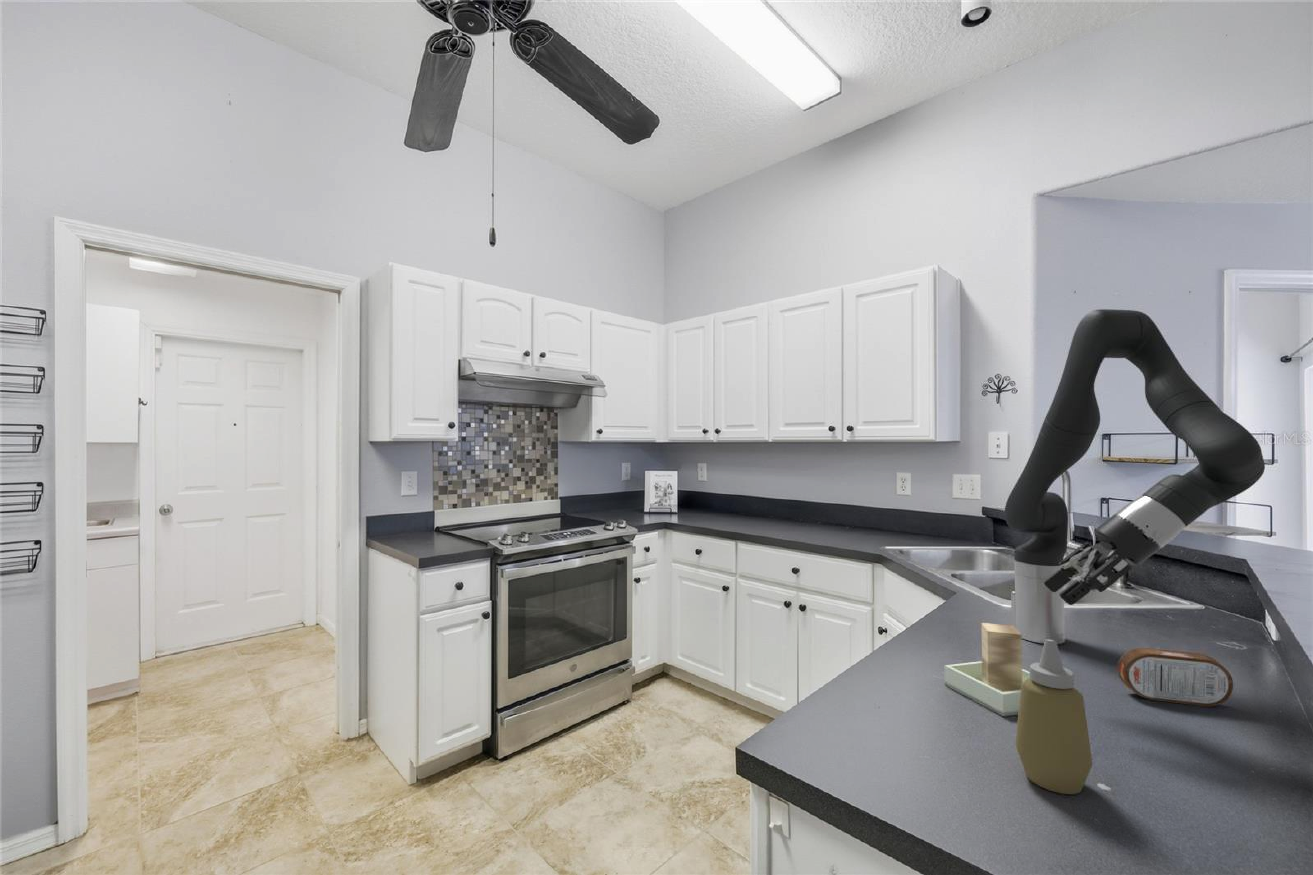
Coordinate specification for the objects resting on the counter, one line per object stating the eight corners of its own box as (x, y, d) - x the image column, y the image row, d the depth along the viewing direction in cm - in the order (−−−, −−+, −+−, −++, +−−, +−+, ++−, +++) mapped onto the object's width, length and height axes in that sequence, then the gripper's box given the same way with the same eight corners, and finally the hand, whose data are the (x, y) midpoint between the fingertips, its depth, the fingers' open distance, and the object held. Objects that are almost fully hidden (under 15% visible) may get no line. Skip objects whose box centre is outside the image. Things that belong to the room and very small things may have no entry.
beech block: (988, 695, 94) (987, 631, 95) (982, 684, 99) (981, 622, 99) (1022, 700, 93) (1021, 634, 93) (1014, 688, 97) (1013, 625, 98)
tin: (1225, 704, 93) (1224, 653, 93) (1237, 712, 90) (1236, 660, 90) (1116, 691, 98) (1115, 643, 98) (1125, 698, 95) (1124, 649, 95)
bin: (944, 684, 100) (944, 665, 100) (999, 677, 103) (999, 659, 104) (1003, 716, 88) (1002, 694, 88) (1063, 707, 91) (1063, 686, 92)
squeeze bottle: (1001, 765, 75) (999, 631, 75) (1057, 762, 75) (1054, 629, 76) (1048, 803, 67) (1046, 653, 67) (1110, 800, 67) (1107, 651, 68)
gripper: (1100, 508, 97) (1025, 568, 101) (1138, 517, 84) (1050, 586, 88) (1138, 540, 95) (1060, 600, 99) (1183, 555, 82) (1091, 624, 86)
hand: (1055, 594), depth 94 cm, fingers open, 8 cm apart
